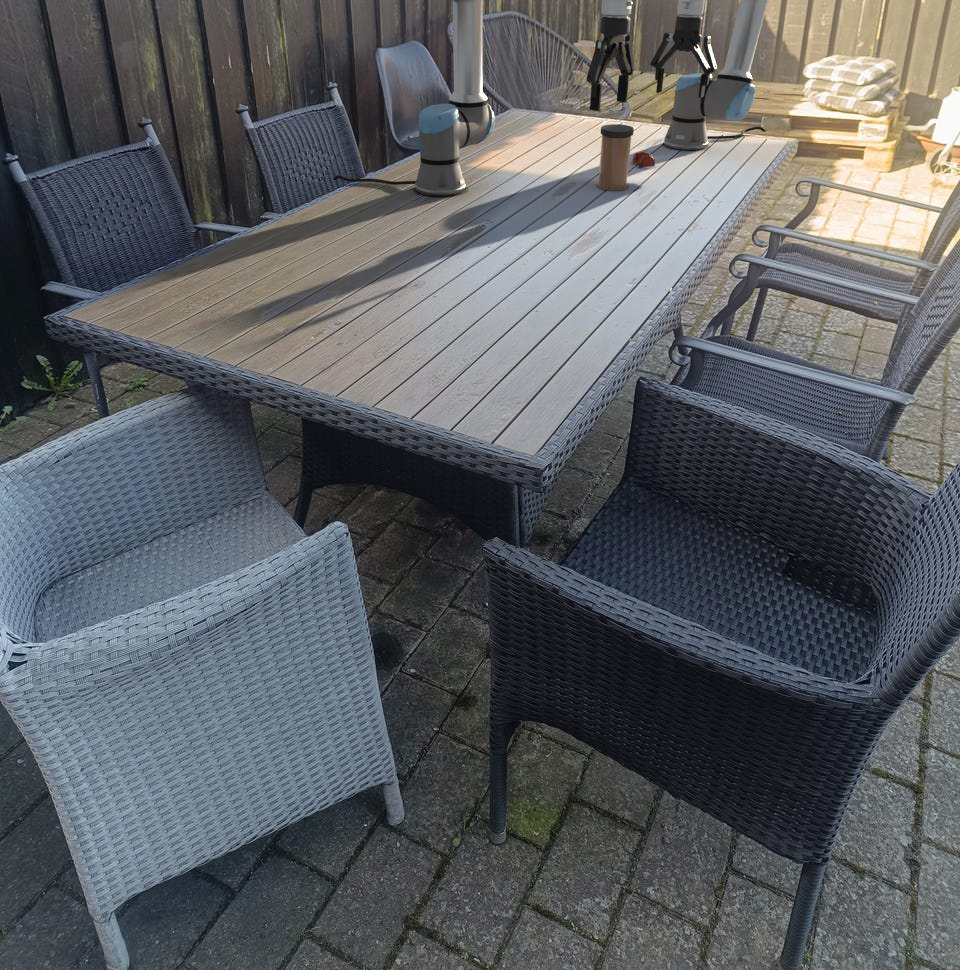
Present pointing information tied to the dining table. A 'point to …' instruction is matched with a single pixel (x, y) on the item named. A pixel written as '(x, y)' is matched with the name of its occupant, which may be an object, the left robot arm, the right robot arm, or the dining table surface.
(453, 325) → the dining table surface
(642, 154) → the red irregular lump
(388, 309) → the dining table surface
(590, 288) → the dining table surface
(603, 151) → the jar
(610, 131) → the lid
